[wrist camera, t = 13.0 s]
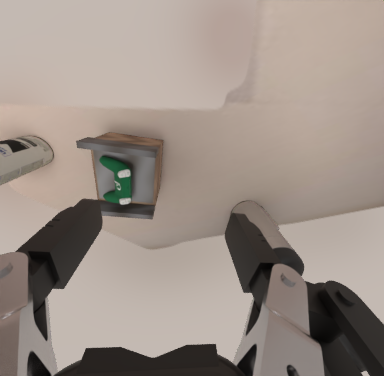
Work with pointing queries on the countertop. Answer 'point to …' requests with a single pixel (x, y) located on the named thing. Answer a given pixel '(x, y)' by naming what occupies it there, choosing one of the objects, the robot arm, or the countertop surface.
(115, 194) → the gaming controller
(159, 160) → the charging cradle
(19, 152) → the spray can
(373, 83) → the countertop surface
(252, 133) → the countertop surface
